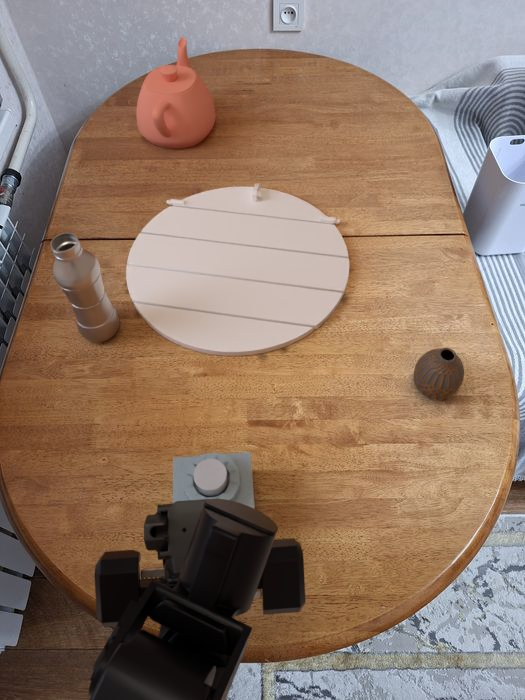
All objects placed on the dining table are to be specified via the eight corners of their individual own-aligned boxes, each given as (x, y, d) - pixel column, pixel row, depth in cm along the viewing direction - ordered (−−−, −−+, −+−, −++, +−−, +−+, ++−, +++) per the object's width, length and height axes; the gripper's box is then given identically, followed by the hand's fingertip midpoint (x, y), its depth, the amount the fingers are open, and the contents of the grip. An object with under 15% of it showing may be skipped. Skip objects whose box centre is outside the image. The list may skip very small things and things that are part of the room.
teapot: (157, 91, 129) (146, 32, 118) (227, 96, 127) (222, 36, 116) (126, 158, 115) (110, 98, 104) (204, 165, 114) (196, 104, 102)
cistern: (258, 559, 69) (256, 542, 63) (179, 566, 69) (169, 549, 63) (252, 469, 76) (250, 445, 70) (180, 475, 76) (171, 451, 69)
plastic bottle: (73, 335, 90) (28, 247, 73) (102, 308, 93) (65, 218, 76) (102, 353, 88) (62, 267, 71) (131, 325, 91) (99, 236, 74)
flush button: (228, 494, 66) (227, 488, 65) (195, 497, 66) (193, 491, 65) (227, 463, 69) (226, 457, 67) (195, 466, 69) (193, 459, 67)
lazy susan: (164, 178, 111) (161, 164, 109) (358, 199, 107) (360, 185, 104) (95, 337, 89) (89, 324, 87) (335, 372, 85) (337, 360, 82)
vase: (455, 370, 85) (472, 337, 77) (456, 409, 81) (474, 379, 73) (410, 364, 85) (422, 331, 78) (408, 403, 82) (421, 372, 74)
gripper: (311, 515, 44) (288, 466, 59) (70, 531, 42) (112, 477, 58) (317, 652, 44) (293, 568, 60) (79, 672, 43) (118, 581, 58)
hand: (205, 546), depth 59 cm, fingers closed
